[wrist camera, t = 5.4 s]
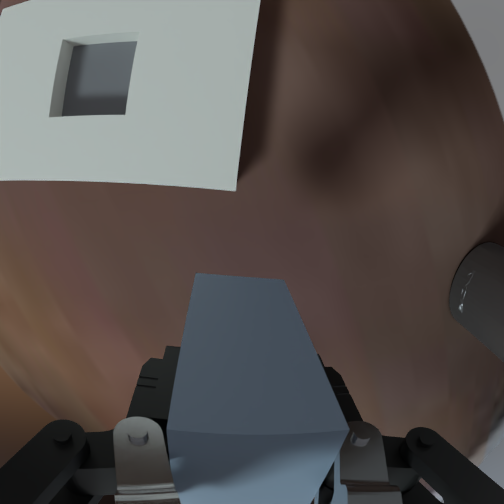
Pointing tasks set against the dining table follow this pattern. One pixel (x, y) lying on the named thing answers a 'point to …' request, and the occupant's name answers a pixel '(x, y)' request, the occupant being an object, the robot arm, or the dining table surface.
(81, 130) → the socket
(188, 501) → the peg
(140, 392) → the robot arm
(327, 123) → the dining table surface
